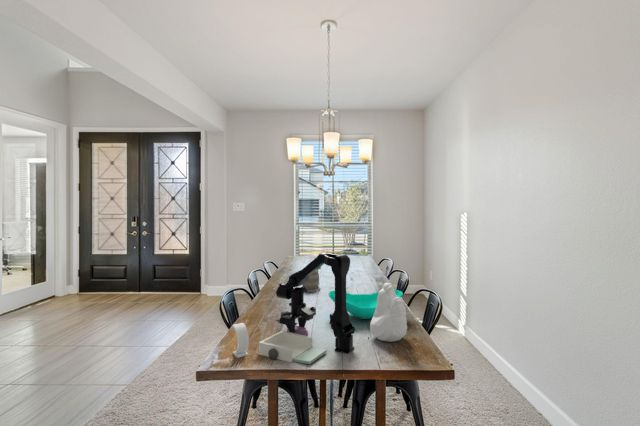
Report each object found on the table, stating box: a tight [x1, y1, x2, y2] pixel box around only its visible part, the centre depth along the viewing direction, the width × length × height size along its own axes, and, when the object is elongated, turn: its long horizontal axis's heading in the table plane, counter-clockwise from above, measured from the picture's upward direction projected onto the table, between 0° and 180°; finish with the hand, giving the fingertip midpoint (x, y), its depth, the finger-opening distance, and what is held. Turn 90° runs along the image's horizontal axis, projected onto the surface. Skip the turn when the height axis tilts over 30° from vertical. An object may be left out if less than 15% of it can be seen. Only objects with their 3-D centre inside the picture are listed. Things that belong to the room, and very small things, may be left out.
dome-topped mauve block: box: [286, 325, 309, 336], centre depth 180 cm, size 11×4×4 cm, turn 60°
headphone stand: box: [232, 322, 250, 359], centre depth 160 cm, size 5×6×12 cm
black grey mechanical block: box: [275, 311, 291, 324], centre depth 205 cm, size 12×7×5 cm, turn 122°
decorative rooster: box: [369, 282, 408, 343], centre depth 175 cm, size 25×16×25 cm, turn 1°
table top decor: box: [328, 289, 404, 320], centre depth 210 cm, size 40×28×13 cm
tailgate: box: [292, 347, 328, 365], centre depth 158 cm, size 1×13×8 cm
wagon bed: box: [258, 330, 313, 363], centre depth 164 cm, size 16×19×5 cm
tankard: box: [301, 266, 322, 293], centre depth 274 cm, size 20×13×15 cm, turn 147°
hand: (297, 334), depth 180 cm, fingers open, 6 cm apart
